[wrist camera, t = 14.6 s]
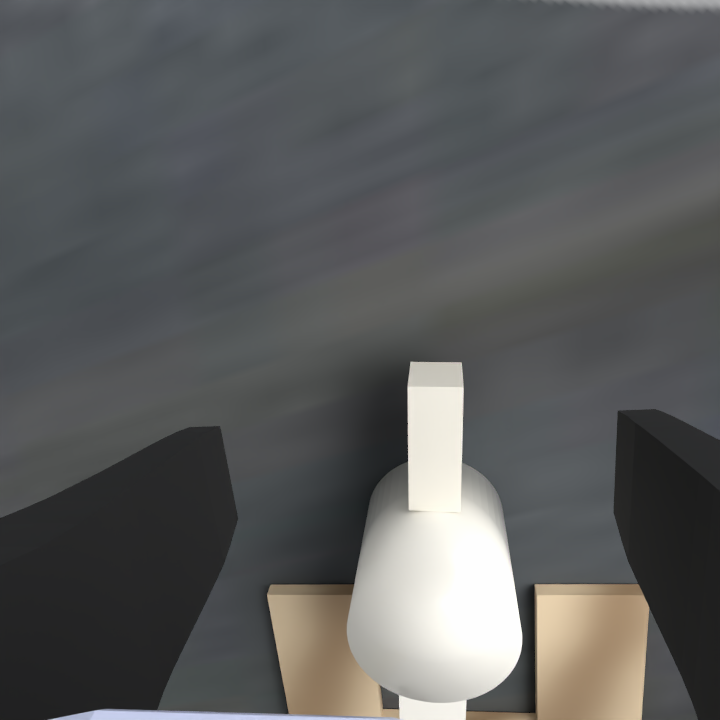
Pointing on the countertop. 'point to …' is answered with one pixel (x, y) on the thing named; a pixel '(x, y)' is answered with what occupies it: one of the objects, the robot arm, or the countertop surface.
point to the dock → (553, 711)
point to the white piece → (435, 566)
